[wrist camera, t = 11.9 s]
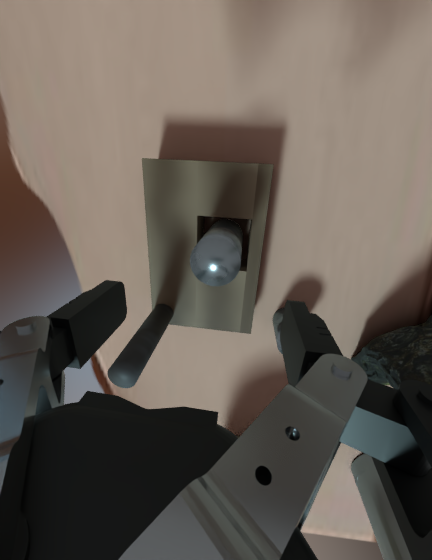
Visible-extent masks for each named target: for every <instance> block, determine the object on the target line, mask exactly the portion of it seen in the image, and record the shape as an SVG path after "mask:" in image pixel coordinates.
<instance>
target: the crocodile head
mask: <svg viewBox="0 0 432 560" xmlns="http://www.w3.org/2000/svg"><path fill="white" fill-rule="evenodd" d="M351 360H353V361H354V362H356V363H357V364H358V365H359V366H360V367H362V369H363V370H364V371H365V373H366V375H367V379H369V380H372V381H374V382H377V383H380V384H383V385H391V386H392V387H393V388H394V389H397V390H398V388H399V386H400V384H401V382H402V381H405V380H417V381H421V382H424V383H427V384H429V385H432V315H431V316H430V317H429V319H428V320H427V321H426V322H425V323H423V324H420V325H417V326H408V327H403V328H400V329H397V330H394V331H392V332H389V333H386V334H383V335H380V336H378V337H376V338H374V339H373V340H372V341H370V342H369V343H368V344H367V345H366V346H365V347H363V348H362V351H361V352H360V353H358V354H357V355H356V356H355V357H353V358H351Z"/></svg>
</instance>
